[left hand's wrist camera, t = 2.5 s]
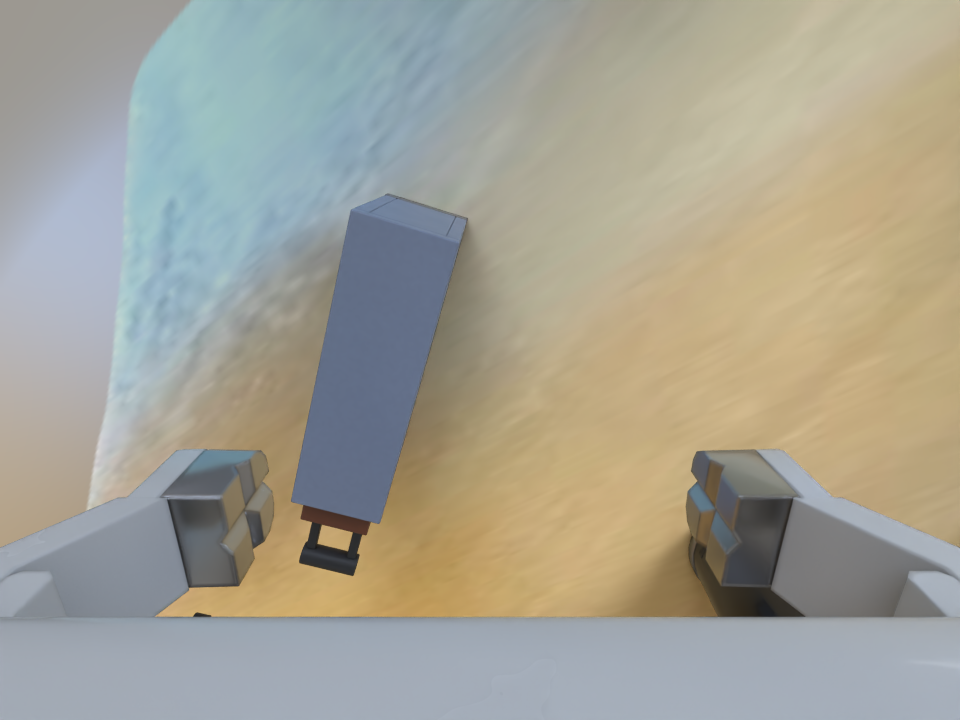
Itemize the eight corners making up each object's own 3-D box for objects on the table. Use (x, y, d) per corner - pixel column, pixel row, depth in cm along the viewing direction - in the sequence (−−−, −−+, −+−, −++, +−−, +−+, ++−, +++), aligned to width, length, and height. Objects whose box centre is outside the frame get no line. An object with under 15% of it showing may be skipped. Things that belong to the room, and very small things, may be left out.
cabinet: (404, 439, 41) (379, 524, 32) (335, 421, 41) (290, 502, 31) (467, 218, 35) (460, 242, 26) (387, 193, 34) (350, 208, 25)
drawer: (373, 520, 43) (348, 602, 35) (322, 507, 42) (285, 587, 35) (446, 259, 35) (434, 289, 27) (384, 240, 35) (354, 266, 27)
